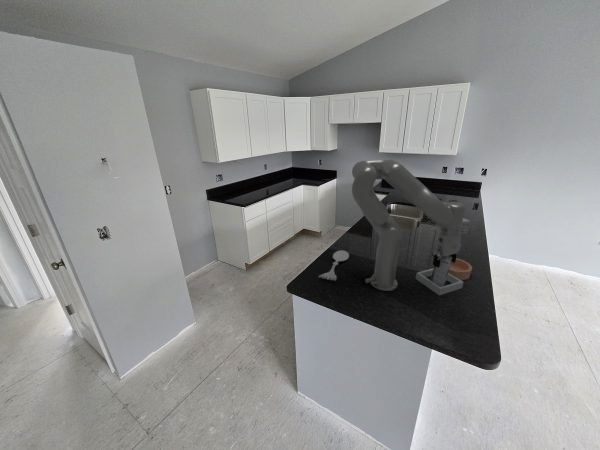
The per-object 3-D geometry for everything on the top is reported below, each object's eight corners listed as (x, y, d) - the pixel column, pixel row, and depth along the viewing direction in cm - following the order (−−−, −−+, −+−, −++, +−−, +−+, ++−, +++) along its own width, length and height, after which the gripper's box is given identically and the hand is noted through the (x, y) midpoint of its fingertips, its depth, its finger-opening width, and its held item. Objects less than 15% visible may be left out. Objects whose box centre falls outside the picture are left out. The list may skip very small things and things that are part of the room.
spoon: (317, 281, 125) (317, 275, 124) (335, 252, 152) (335, 247, 151) (335, 285, 122) (335, 279, 120) (350, 255, 149) (350, 250, 147)
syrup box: (432, 278, 125) (438, 252, 120) (446, 282, 122) (452, 256, 116) (429, 284, 121) (435, 257, 116) (443, 288, 118) (449, 261, 112)
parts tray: (439, 295, 113) (440, 289, 112) (415, 278, 125) (416, 272, 124) (461, 288, 118) (463, 281, 116) (436, 272, 130) (438, 266, 128)
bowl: (455, 282, 122) (457, 274, 120) (431, 267, 134) (432, 260, 133) (476, 276, 126) (478, 268, 125) (451, 262, 139) (453, 255, 137)
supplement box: (468, 233, 174) (471, 220, 170) (450, 235, 172) (453, 222, 168) (451, 224, 189) (453, 212, 186) (435, 225, 188) (437, 213, 184)
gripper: (442, 236, 105) (436, 272, 111) (472, 229, 110) (464, 263, 117) (428, 230, 111) (423, 264, 118) (457, 223, 117) (450, 256, 123)
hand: (443, 263), depth 117 cm, fingers open, 9 cm apart
